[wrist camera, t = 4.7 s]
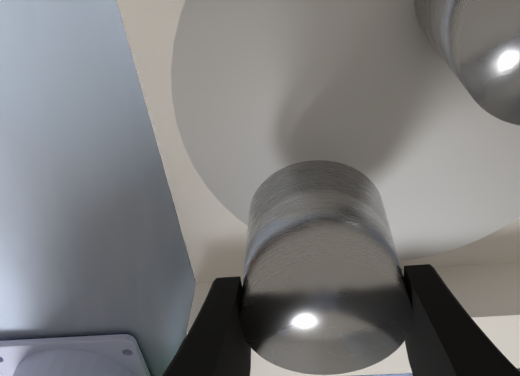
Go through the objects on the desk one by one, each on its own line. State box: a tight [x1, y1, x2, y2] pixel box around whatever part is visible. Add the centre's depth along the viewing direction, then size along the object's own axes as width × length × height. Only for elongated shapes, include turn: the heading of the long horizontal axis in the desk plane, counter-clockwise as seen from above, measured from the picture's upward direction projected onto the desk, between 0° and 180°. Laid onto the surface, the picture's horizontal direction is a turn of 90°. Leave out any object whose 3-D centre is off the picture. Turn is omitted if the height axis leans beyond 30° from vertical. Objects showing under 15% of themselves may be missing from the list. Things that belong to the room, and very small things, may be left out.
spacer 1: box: [240, 160, 412, 375], centre depth 13 cm, size 4×4×4 cm
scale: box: [116, 0, 520, 376], centre depth 16 cm, size 17×15×4 cm
